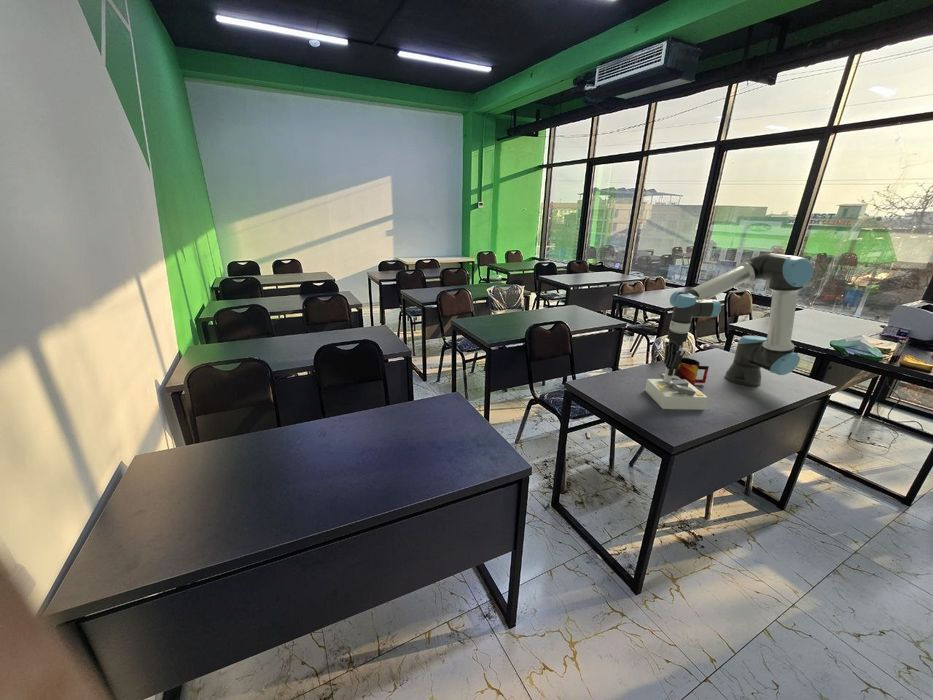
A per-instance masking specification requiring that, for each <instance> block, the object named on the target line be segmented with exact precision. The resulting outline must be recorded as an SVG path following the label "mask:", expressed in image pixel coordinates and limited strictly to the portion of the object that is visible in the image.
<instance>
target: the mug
mask: <svg viewBox="0 0 933 700" xmlns="http://www.w3.org/2000/svg"><path fill="white" fill-rule="evenodd" d="M700 364H701V363H700V362H699V361H698V360H696V359H694V358H691V357H690V358H688V357H682V360H681V362H680V364H679V367H678V369H674V372H673V375H675V376H678V377H679V378H680V379H685V380H687V381H688V382H689V383H690V384H692V385H693V386H694V387H695V384H706V380H707V377H708V372H709V365H700ZM699 370H704V373H703V376H702V379H698V378H697V376H698V372H699Z"/></svg>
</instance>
